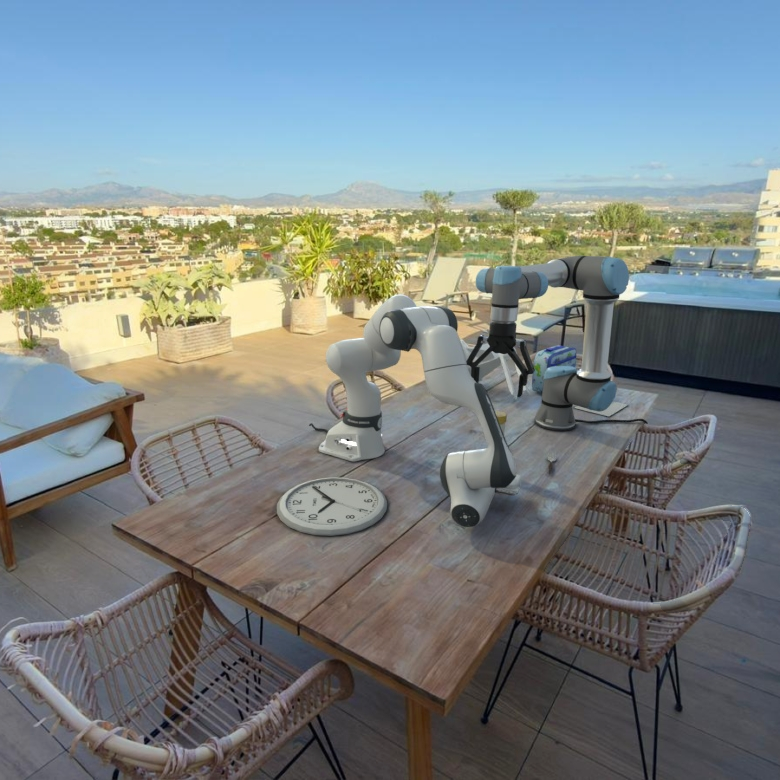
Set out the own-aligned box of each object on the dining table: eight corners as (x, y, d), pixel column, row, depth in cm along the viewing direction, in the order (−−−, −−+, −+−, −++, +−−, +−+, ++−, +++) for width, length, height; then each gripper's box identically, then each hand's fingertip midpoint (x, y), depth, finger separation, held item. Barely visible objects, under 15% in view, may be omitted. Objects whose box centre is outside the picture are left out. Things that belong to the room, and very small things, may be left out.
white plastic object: (461, 429, 252) (437, 405, 227) (444, 352, 274) (420, 323, 250) (535, 404, 240) (518, 377, 215) (510, 326, 262) (492, 293, 237)
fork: (544, 474, 162) (545, 469, 162) (548, 455, 177) (548, 449, 176) (553, 476, 161) (554, 470, 161) (556, 456, 176) (557, 450, 175)
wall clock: (392, 527, 129) (268, 531, 127) (391, 533, 130) (269, 537, 127) (383, 473, 158) (282, 475, 155) (383, 478, 158) (282, 480, 156)
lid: (497, 425, 154) (498, 417, 154) (484, 420, 158) (485, 412, 158) (509, 421, 157) (510, 414, 157) (496, 416, 161) (497, 409, 161)
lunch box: (548, 398, 236) (553, 353, 229) (527, 393, 243) (531, 349, 237) (575, 387, 253) (581, 344, 247) (555, 382, 260) (560, 341, 254)
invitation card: (608, 416, 214) (573, 407, 224) (608, 416, 214) (573, 408, 224) (628, 404, 229) (594, 396, 238) (628, 405, 229) (594, 397, 238)
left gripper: (519, 484, 136) (525, 463, 148) (442, 470, 142) (455, 451, 155) (516, 505, 138) (523, 483, 150) (441, 491, 144) (454, 470, 157)
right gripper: (550, 323, 147) (542, 395, 154) (466, 315, 158) (462, 382, 165) (544, 327, 141) (536, 402, 147) (457, 319, 152) (453, 388, 158)
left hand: (488, 466), depth 152 cm, fingers open, 8 cm apart
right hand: (497, 392), depth 156 cm, fingers open, 13 cm apart
